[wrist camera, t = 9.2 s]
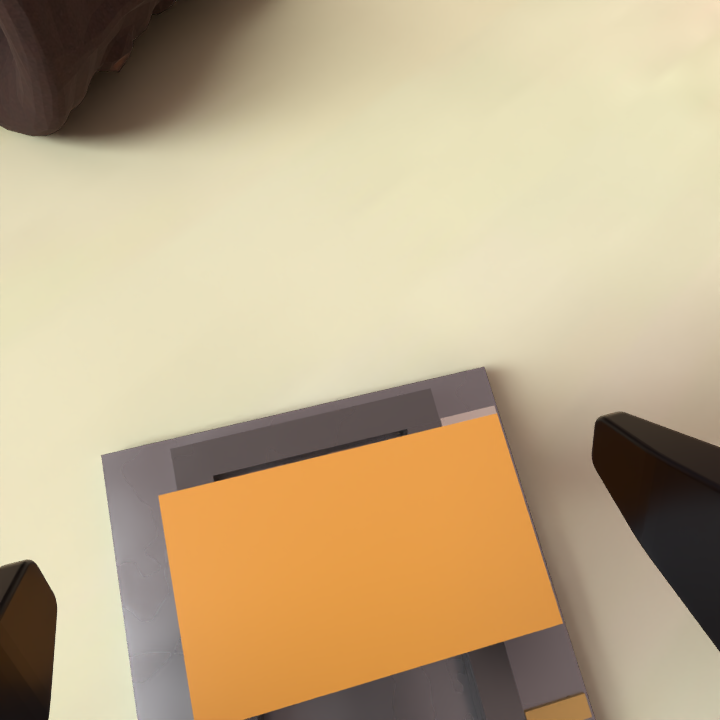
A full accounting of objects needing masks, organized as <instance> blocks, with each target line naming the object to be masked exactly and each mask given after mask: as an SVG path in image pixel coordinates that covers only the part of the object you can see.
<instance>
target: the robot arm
mask: <svg viewBox="0 0 720 720" xmlns="http://www.w3.org/2000/svg"><path fill="white" fill-rule="evenodd" d="M592 461H593V464H594V467H595V469H596V471H597V473H598V474H599V476H600V478H601V479H602V481H603V483H604V484H605V486H606V488H607V489H608V491H609V493H610V495H611V496H612V498H613V500H614V501H615V503H616V505H617V506H618V508H619V510H620V511H621V513H622V515H623V516H624V518H625V520H626V522H627V523H628V525H629V527H630V528H631V530H632V532H633V533H634V535H635V536H636V538H637V540H638V541H639V543H640V544H641V546H642V547H643V549H644V550H645V551H646V553H647V554H648V556H649V557H650V558H651V560H652V561H653V563H654V564H655V565H656V567H657V568H658V569H659V571H660V572H661V573H662V575H663V576H664V577H665V579H666V580H667V581H668V583H669V584H670V585H671V587H672V588H673V589H674V591H675V592H676V593H677V595H678V596H679V597H680V599H681V600H682V602H683V603H684V604H685V606H686V607H687V608H688V610H689V611H690V612H691V614H692V615H693V616H694V618H695V619H696V620H697V622H698V623H699V624H700V626H701V627H702V628H703V630H704V631H705V632H706V634H707V635H708V636H709V638H710V639H711V641H712V642H713V643H714V645H715V646H716V647H717V649H718V650H719V651H720V447H718V446H715V445H712V444H709V443H707V442H704V441H701V440H698V439H696V438H693V437H690V436H688V435H685V434H682V433H679V432H677V431H674V430H671V429H668V428H666V427H663V426H660V425H658V424H655V423H652V422H649V421H647V420H644V419H641V418H638V417H636V416H633V415H630V414H628V413H625V412H615V413H611V414H607V415H603V416H600V417H599V418H598V419H597V420H596V422H595V427H594V437H593V447H592ZM56 620H57V603H56V598H55V595H54V593H53V592H52V590H51V588H50V586H49V585H48V583H47V581H46V579H45V578H44V576H43V574H42V573H41V571H40V569H39V567H38V566H37V564H36V563H35V562H34V561H32V560H23V561H19V562H15V563H11V564H7V565H4V566H1V567H0V720H48V718H49V711H50V701H51V688H52V675H53V661H54V647H55V633H56Z"/></svg>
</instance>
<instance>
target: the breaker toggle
mask: <svg viewBox="0 0 720 720" xmlns="http://www.w3.org/2000/svg"><path fill="white" fill-rule="evenodd" d="M158 497H159V504H160V510H161V516H162V523H163V529H164V535H165V541H166V548H167V554H168V560H169V566H170V573H171V579H172V585H173V592H174V598H175V604H176V610H177V617H178V623H179V629H180V635H181V642H182V648H183V654H184V661H185V667H186V673H187V679H188V686H189V692H190V698H191V705H192V711H193V717H194V720H244V719H247V718H251V717H254V716H257V715H261V714H264V713H267V712H271V711H274V710H277V709H281V708H284V707H287V706H291V705H294V704H297V703H301V702H304V701H307V700H311V699H314V698H317V697H320V696H324V695H327V694H330V693H334V692H337V691H340V690H344V689H347V688H350V687H354V686H357V685H360V684H364V683H367V682H370V681H374V680H377V679H380V678H384V677H387V676H390V675H394V674H397V673H400V672H404V671H407V670H410V669H414V668H417V667H420V666H423V665H427V664H430V663H433V662H437V661H440V660H443V659H447V658H450V657H453V656H457V655H460V654H463V653H467V652H470V651H473V650H477V649H480V648H483V647H487V646H490V645H493V644H497V643H500V642H503V641H507V640H510V639H513V638H517V637H520V636H523V635H526V634H530V633H533V632H536V631H540V630H543V629H546V628H550V627H553V626H556V625H560V624H563V622H562V618H561V615H560V612H559V609H558V606H557V602H556V599H555V596H554V593H553V590H552V587H551V583H550V580H549V577H548V574H547V571H546V567H545V564H544V561H543V558H542V555H541V552H540V548H539V545H538V542H537V539H536V536H535V532H534V529H533V526H532V523H531V520H530V517H529V513H528V510H527V507H526V504H525V501H524V497H523V494H522V491H521V488H520V485H519V482H518V478H517V475H516V472H515V469H514V466H513V462H512V459H511V456H510V453H509V450H508V447H507V443H506V440H505V437H504V434H503V431H502V427H501V424H500V421H499V418H498V415H497V413H496V414H492V415H488V416H484V417H479V418H475V419H471V420H467V421H463V422H459V423H455V424H451V425H447V426H442V427H438V428H434V429H430V430H426V431H422V432H418V433H414V434H410V435H405V436H401V437H397V438H393V439H389V440H385V441H381V442H377V443H373V444H368V445H364V446H360V447H356V448H352V449H348V450H344V451H340V452H336V453H332V454H327V455H323V456H319V457H315V458H311V459H307V460H303V461H299V462H295V463H290V464H286V465H282V466H278V467H274V468H270V469H266V470H262V471H258V472H253V473H249V474H245V475H241V476H237V477H233V478H229V479H225V480H221V481H216V482H212V483H208V484H204V485H200V486H196V487H192V488H188V489H184V490H179V491H175V492H171V493H167V494H163V495H159V496H158Z"/></svg>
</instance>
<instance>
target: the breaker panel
mask: <svg viewBox="0 0 720 720" xmlns="http://www.w3.org/2000/svg"><path fill="white" fill-rule="evenodd" d="M496 413H497V415H498V418H499V421H500V424H501V427H502V431H503V434H504V437H505V440H506V443H507V447H508V450H509V453H510V456H511V459H512V462H513V466H514V469H515V472H516V475H517V478H518V482H519V485H520V488H521V491H522V494H523V497H524V501H525V504H526V507H527V510H528V513H529V517H530V520H531V523H532V526H533V529H534V532H535V536H536V539H537V542H538V545H539V548H540V552H541V555H542V558H543V561H544V564H545V567H546V571H547V574H548V577H549V580H550V583H551V587H552V590H553V593H554V596H555V599H556V602H557V606H558V609H559V612H560V615H561V618H562V622H563V624H560V625H556V626H553V627H550V628H546V629H543V630H540V631H536V632H533V633H530V634H526V635H523V636H520V637H517V638H513V639H510V640H507V641H503V642H500V643H497V644H493V645H490V646H487V647H483V648H480V649H477V650H473V651H470V652H467V653H463V654H460V655H457V656H453V657H450V658H447V659H443V660H440V661H437V662H433V663H430V664H427V665H423V666H420V667H417V668H414V669H410V670H407V671H404V672H400V673H397V674H394V675H390V676H387V677H384V678H380V679H377V680H374V681H370V682H367V683H364V684H360V685H357V686H354V687H350V688H347V689H344V690H340V691H337V692H334V693H330V694H327V695H324V696H320V697H317V698H314V699H311V700H307V701H304V702H301V703H297V704H294V705H291V706H287V707H284V708H281V709H277V710H274V711H271V712H267V713H264V714H261V715H257V716H254V717H251V718H247V719H244V720H595V717H594V714H593V711H592V707H591V704H590V701H589V698H588V695H587V692H586V688H585V685H584V682H583V679H582V676H581V672H580V669H579V666H578V663H577V660H576V657H575V653H574V650H573V647H572V644H571V641H570V638H569V634H568V631H567V628H566V625H565V622H564V619H563V615H562V612H561V609H560V606H559V603H558V599H557V596H556V593H555V590H554V587H553V584H552V580H551V577H550V574H549V571H548V568H547V565H546V561H545V558H544V555H543V552H542V549H541V546H540V542H539V539H538V536H537V533H536V530H535V526H534V523H533V520H532V517H531V514H530V511H529V507H528V504H527V501H526V498H525V495H524V492H523V488H522V485H521V482H520V479H519V476H518V473H517V469H516V466H515V463H514V460H513V457H512V453H511V450H510V447H509V444H508V441H507V438H506V434H505V431H504V428H503V425H502V422H501V419H500V415H499V412H498V409H497V406H496V403H495V400H494V396H493V393H492V390H491V387H490V384H489V380H488V377H487V374H486V371H485V368H484V367H481V368H477V369H472V370H468V371H464V372H459V373H455V374H451V375H446V376H442V377H438V378H433V379H429V380H425V381H421V382H416V383H412V384H408V385H403V386H399V387H395V388H390V389H386V390H382V391H377V392H373V393H369V394H364V395H360V396H356V397H351V398H347V399H343V400H338V401H334V402H330V403H325V404H321V405H317V406H312V407H308V408H304V409H299V410H295V411H291V412H286V413H282V414H278V415H273V416H269V417H265V418H260V419H256V420H252V421H247V422H243V423H239V424H234V425H230V426H226V427H221V428H217V429H213V430H208V431H204V432H200V433H195V434H191V435H187V436H182V437H178V438H174V439H169V440H165V441H161V442H156V443H152V444H148V445H143V446H139V447H135V448H130V449H126V450H122V451H117V452H113V453H109V454H104V455H101V457H102V464H103V471H104V479H105V486H106V493H107V500H108V508H109V515H110V522H111V529H112V537H113V544H114V551H115V559H116V566H117V573H118V580H119V588H120V595H121V602H122V609H123V617H124V624H125V631H126V639H127V646H128V653H129V660H130V668H131V675H132V682H133V689H134V697H135V704H136V711H137V719H138V720H194V717H193V711H192V705H191V698H190V692H189V686H188V679H187V673H186V667H185V661H184V654H183V648H182V642H181V635H180V629H179V623H178V617H177V610H176V604H175V598H174V592H173V585H172V579H171V573H170V566H169V560H168V554H167V548H166V541H165V535H164V529H163V523H162V516H161V510H160V504H159V497H158V496H159V495H163V494H167V493H171V492H175V491H179V490H184V489H188V488H192V487H196V486H200V485H204V484H208V483H212V482H216V481H221V480H225V479H229V478H233V477H237V476H241V475H245V474H249V473H253V472H258V471H262V470H266V469H270V468H274V467H278V466H282V465H286V464H290V463H295V462H299V461H303V460H307V459H311V458H315V457H319V456H323V455H327V454H332V453H336V452H340V451H344V450H348V449H352V448H356V447H360V446H364V445H368V444H373V443H377V442H381V441H385V440H389V439H393V438H397V437H401V436H405V435H410V434H414V433H418V432H422V431H426V430H430V429H434V428H438V427H442V426H447V425H451V424H455V423H459V422H463V421H467V420H471V419H475V418H479V417H484V416H488V415H492V414H496Z"/></svg>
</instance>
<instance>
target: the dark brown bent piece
mask: <svg viewBox="0 0 720 720" xmlns="http://www.w3.org/2000/svg"><path fill="white" fill-rule="evenodd" d="M175 1H176V0H0V126H2V127H3V128H5V129H7V130H11V131H15V132H18V133H22V134H26V135H31V136H47V135H49V134H52V133H54V132H56V131H57V130H58V129H59V128H60V127H62V126H63V125H64V124H65V122H66V120H67V118H68V115H69V113H70V111H71V110H72V109H74V108H75V107H76V106H78V105H79V104H80V103H81V102H82V100H83V98H84V97H85V95H86V92H87V89H88V87H89V84H90V81H91V78H92V77H93V75H94V74H95V72H97V71H113V72H119V71H120V69H121V68H122V66H123V65H124V64H125V62H126V61H127V59H128V58H129V56H130V53H131V51H132V48H133V40H134V39H135V38H137V37H138V36H139V35H140V34H141V33H142V32H143V31H145V30H146V28H147V26H148V24H149V21H150V18H151V15H152V14H160V13H161V12H163V11H165V10H166V9H168V8H169V7H170V6H171V5H172V4H173V3H174V2H175Z"/></svg>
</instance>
